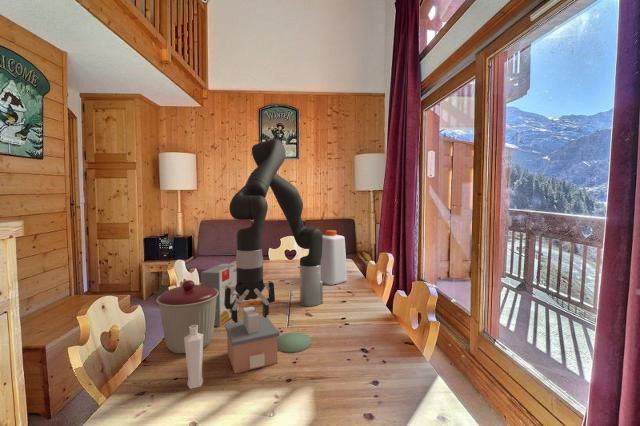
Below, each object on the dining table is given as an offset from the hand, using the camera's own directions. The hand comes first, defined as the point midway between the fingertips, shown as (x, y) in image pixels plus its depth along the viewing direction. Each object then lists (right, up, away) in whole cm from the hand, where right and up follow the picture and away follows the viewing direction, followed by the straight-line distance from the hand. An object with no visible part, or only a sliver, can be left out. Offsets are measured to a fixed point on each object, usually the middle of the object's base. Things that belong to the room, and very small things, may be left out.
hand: (250, 319), depth 89 cm
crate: (0, -12, +1) cm, 12 cm away
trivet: (+12, -11, +9) cm, 19 cm away
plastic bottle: (+27, -7, +80) cm, 84 cm away
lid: (0, -4, 0) cm, 4 cm away
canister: (-21, -12, +8) cm, 25 cm away
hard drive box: (-18, -10, +30) cm, 36 cm away
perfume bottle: (-12, -13, -12) cm, 21 cm away
